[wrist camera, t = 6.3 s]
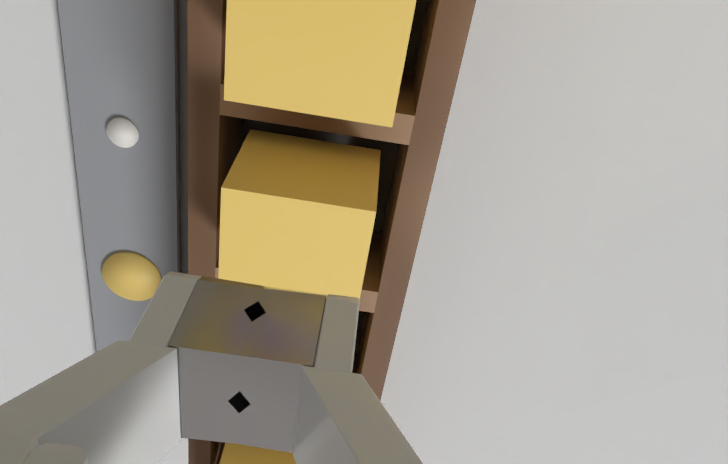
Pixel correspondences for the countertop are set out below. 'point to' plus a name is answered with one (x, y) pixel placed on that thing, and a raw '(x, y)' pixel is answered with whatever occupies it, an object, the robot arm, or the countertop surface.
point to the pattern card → (124, 150)
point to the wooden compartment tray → (410, 130)
